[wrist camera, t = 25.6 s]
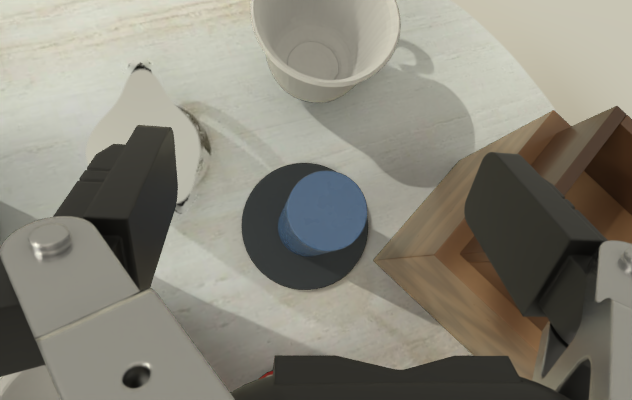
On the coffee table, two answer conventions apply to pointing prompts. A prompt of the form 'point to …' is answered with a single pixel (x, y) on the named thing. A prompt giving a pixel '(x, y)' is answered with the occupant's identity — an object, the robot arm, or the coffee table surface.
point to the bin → (468, 256)
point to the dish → (28, 385)
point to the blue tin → (322, 214)
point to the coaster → (269, 247)
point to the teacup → (325, 43)
